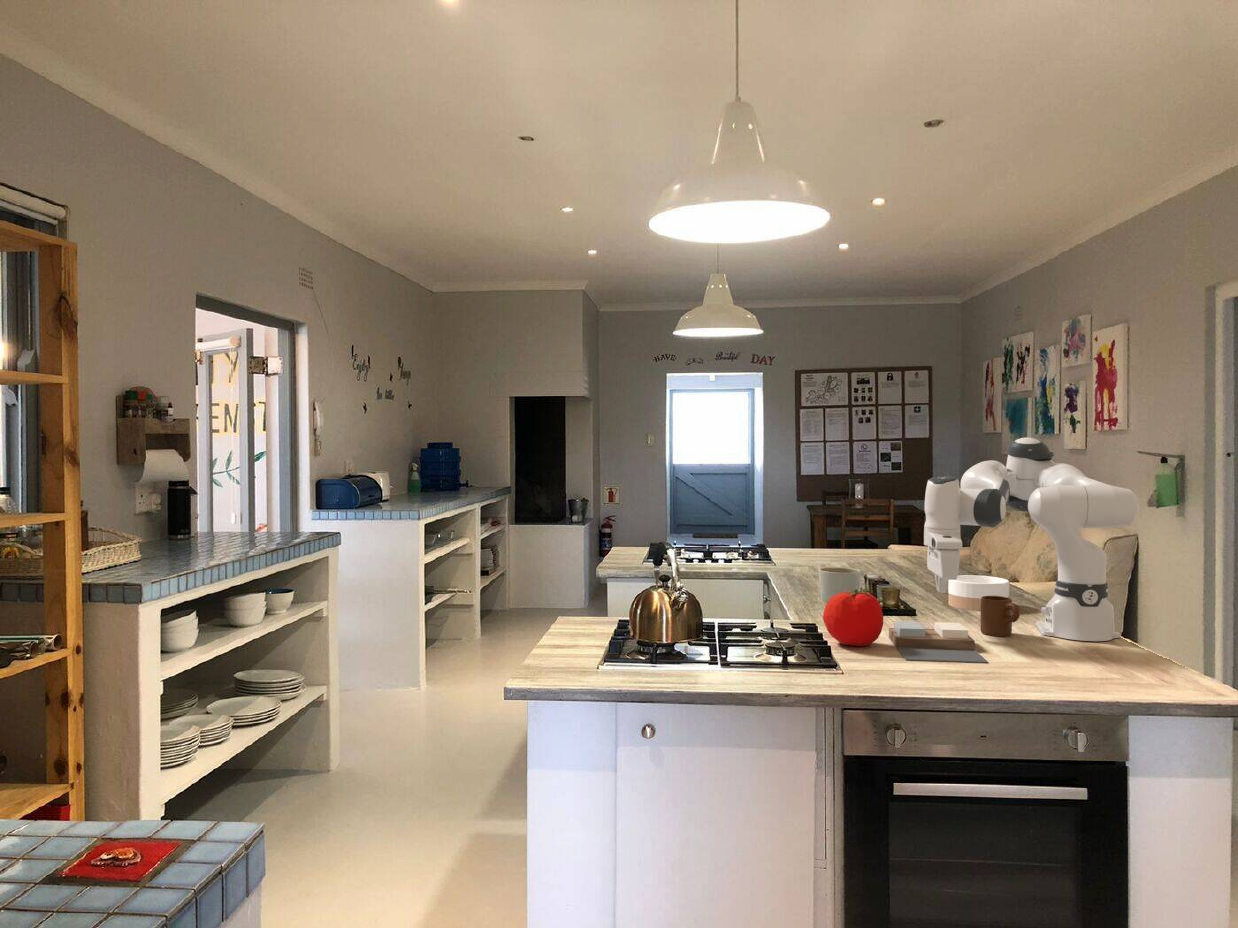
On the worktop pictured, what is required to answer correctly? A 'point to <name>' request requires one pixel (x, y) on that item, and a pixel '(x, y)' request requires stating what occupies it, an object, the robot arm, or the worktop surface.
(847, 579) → the planter
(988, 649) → the worktop surface
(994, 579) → the bowl
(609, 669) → the worktop surface
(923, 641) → the brown wooden flat board
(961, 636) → the ivory block
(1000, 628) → the mug
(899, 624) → the light gray block
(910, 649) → the mat
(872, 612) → the tomato
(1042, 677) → the worktop surface
